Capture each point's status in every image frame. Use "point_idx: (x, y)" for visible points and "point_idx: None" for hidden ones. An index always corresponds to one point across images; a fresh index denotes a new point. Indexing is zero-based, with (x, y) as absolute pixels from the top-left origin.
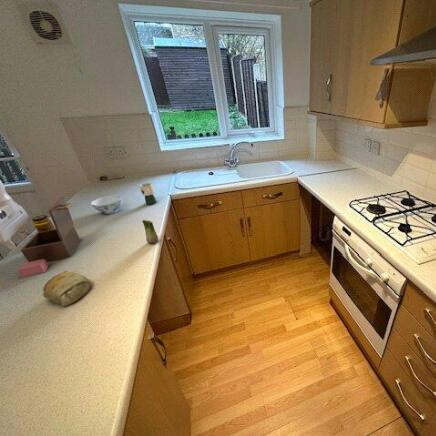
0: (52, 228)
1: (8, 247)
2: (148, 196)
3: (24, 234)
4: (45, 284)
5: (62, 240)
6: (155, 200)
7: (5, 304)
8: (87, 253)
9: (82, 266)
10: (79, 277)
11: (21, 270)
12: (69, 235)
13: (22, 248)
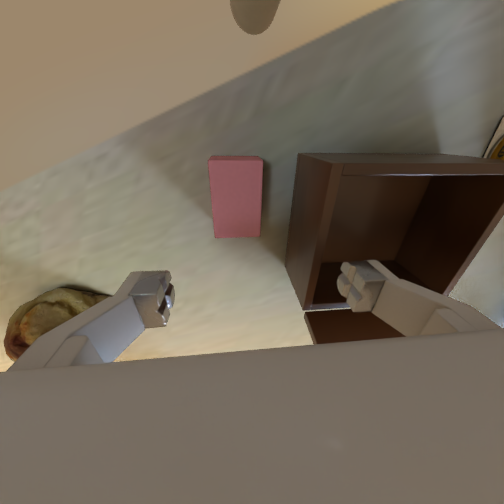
0: None
1: (124, 282)
2: None
3: (350, 287)
4: (8, 345)
5: (304, 317)
6: None
7: (36, 174)
8: (277, 300)
9: (206, 307)
10: None
11: (209, 173)
12: None
13: (348, 166)
